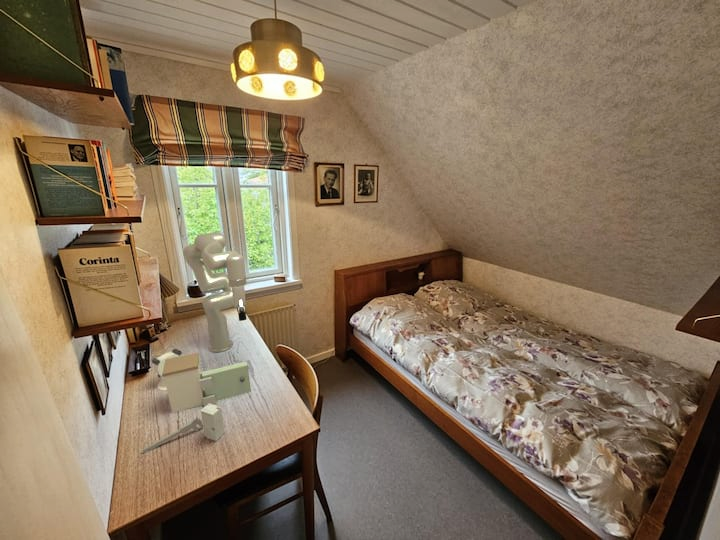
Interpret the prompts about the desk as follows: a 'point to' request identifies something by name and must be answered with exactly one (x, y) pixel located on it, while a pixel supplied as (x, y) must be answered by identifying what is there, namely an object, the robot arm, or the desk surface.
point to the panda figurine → (160, 365)
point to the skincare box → (212, 422)
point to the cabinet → (186, 383)
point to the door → (228, 381)
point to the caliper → (175, 434)
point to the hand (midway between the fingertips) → (241, 315)
